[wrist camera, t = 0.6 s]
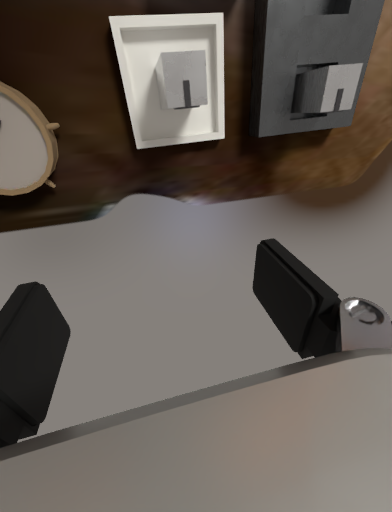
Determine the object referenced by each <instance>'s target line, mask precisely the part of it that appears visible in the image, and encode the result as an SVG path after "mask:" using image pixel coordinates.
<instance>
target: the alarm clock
mask: <svg viewBox="0 0 392 512" xmlns="http://www.w3.org/2000/svg"><path fill="white" fill-rule="evenodd" d="M59 127H60V126H59V124H58V123H49V122H48V120H47V119H46V118H45V116H44V115H43V114H42V112H41V111H40V110H39V108H38V107H37V106H36V105H35V104H34V103H33V102H31V101H30V100H29V99H28V98H27V97H26V96H24V95H23V94H22V93H21V92H20V91H18V90H16V89H14V88H12V87H10V86H8V85H6V84H4V83H2V82H1V81H0V195H11V196H13V195H18V194H24V193H29V192H31V191H32V190H34V189H36V188H38V187H40V186H41V185H42V184H43V183H44V182H45V183H46V184H47V185H49V186H51V187H52V188H55V187H56V185H55V184H54V183H53V182H51V181H50V180H49V179H48V177H49V176H50V175H51V174H52V172H53V171H54V170H55V167H56V163H57V159H58V148H57V140H56V137H55V135H54V133H53V130H54V129H56V128H59Z"/></svg>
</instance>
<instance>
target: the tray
mask: <svg viewBox="0 0 392 512" xmlns="http://www.w3.org/2000/svg"><path fill="white" fill-rule="evenodd" d="M109 20H110V25H111V29H112V34H113V39H114V43H115V48H116V53H117V57H118V62H119V67H120V71H121V76H122V81H123V86H124V90H125V95H126V100H127V104H128V109H129V114H130V118H131V123H132V128H133V132H134V137H135V142H136V147H137V149H142V148H150V147H158V146H166V145H175V144H183V143H191V142H199V141H207V140H215V139H223V138H224V31H223V13H197V14H166V15H136V16H109ZM195 50H205V52H206V74H207V97H208V105H202V106H200V107H197V108H188V109H178V110H174V109H168V110H161V107H160V100H159V94H158V87H157V80H156V73H155V66H156V63H157V61H158V58H159V56H160V53H161V52H178V51H195Z"/></svg>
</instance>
